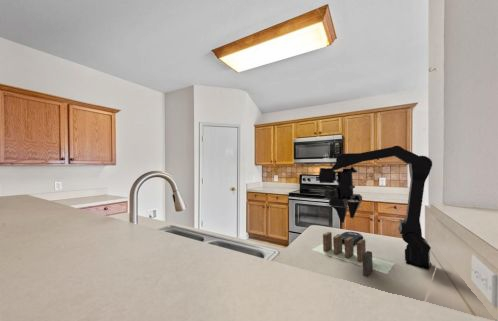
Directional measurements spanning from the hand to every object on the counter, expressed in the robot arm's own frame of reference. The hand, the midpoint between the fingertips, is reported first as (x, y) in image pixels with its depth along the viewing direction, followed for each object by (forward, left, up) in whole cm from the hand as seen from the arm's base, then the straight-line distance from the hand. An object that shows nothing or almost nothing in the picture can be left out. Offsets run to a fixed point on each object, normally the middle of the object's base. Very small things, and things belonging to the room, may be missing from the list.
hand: (347, 220), depth 87 cm
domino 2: (+2, +4, -13) cm, 14 cm away
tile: (-12, +13, -13) cm, 22 cm away
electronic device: (+5, -15, -14) cm, 21 cm away
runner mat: (-2, +4, -13) cm, 14 cm away
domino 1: (+7, +4, -13) cm, 15 cm away
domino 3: (-2, +4, -13) cm, 14 cm away
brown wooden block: (-7, +4, -13) cm, 15 cm away
